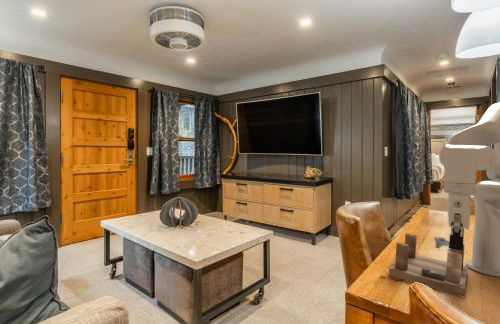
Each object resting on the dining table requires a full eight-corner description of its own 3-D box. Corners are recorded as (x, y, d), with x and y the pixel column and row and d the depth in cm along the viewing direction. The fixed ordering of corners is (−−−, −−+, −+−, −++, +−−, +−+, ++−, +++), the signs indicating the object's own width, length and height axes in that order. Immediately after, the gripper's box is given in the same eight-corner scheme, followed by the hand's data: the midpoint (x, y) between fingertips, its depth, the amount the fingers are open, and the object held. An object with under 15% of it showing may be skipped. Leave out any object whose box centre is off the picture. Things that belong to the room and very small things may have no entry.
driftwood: (434, 238, 136) (434, 234, 136) (451, 241, 133) (451, 236, 133) (434, 251, 119) (434, 246, 119) (454, 255, 115) (454, 250, 115)
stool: (402, 258, 109) (403, 231, 109) (467, 273, 97) (469, 243, 96) (388, 275, 94) (390, 244, 93) (464, 297, 81) (466, 261, 81)
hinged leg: (420, 273, 89) (422, 249, 88) (422, 270, 92) (423, 245, 91) (460, 283, 83) (462, 257, 83) (460, 279, 86) (462, 253, 85)
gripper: (476, 194, 75) (472, 256, 76) (474, 185, 88) (471, 238, 90) (441, 191, 79) (439, 250, 81) (445, 183, 93) (443, 234, 94)
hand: (456, 244), depth 85 cm, fingers open, 9 cm apart
